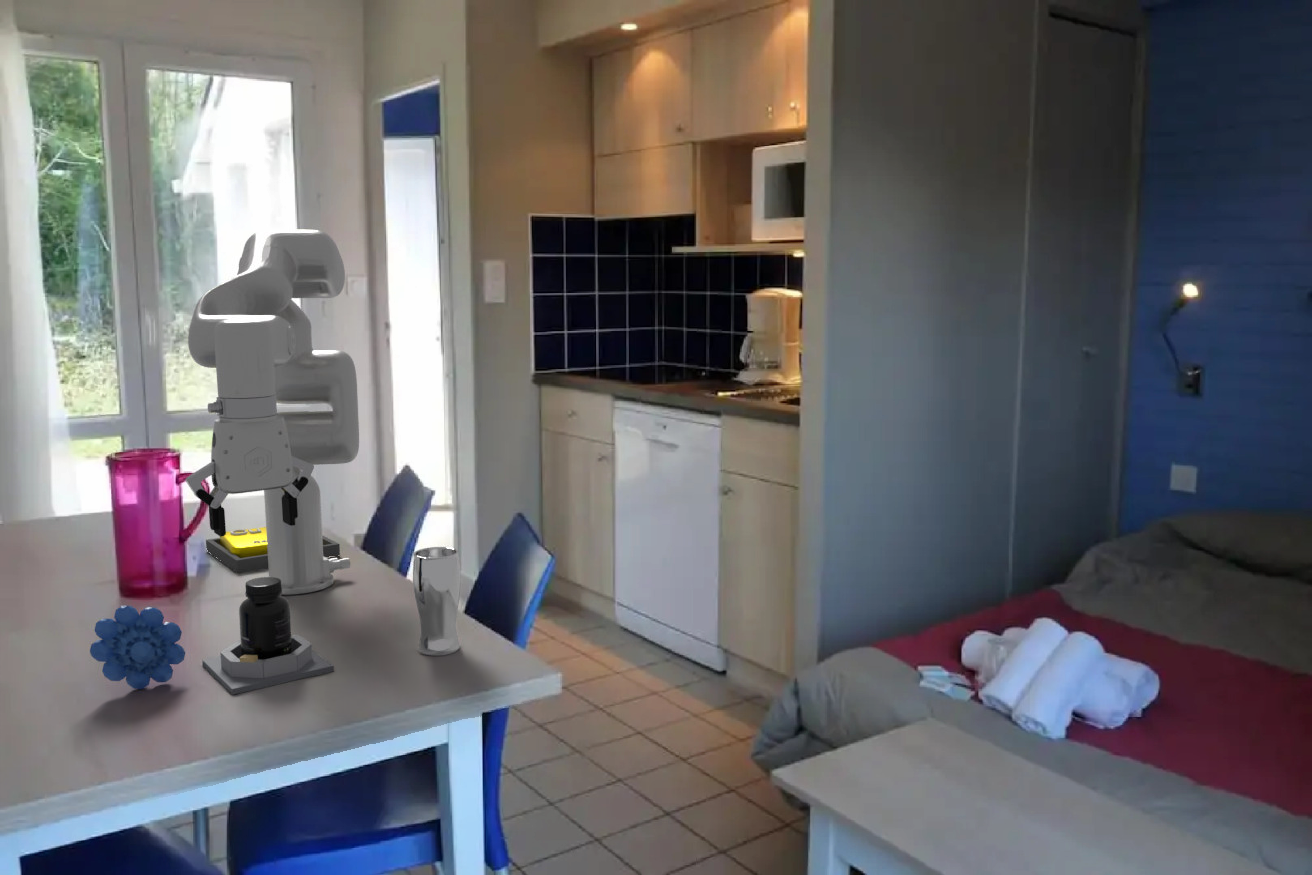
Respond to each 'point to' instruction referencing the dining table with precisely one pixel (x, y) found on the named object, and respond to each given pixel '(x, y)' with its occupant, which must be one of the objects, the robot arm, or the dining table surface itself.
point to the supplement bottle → (265, 620)
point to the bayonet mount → (265, 667)
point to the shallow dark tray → (258, 561)
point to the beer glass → (437, 598)
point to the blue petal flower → (137, 646)
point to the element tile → (245, 542)
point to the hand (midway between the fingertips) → (255, 529)
